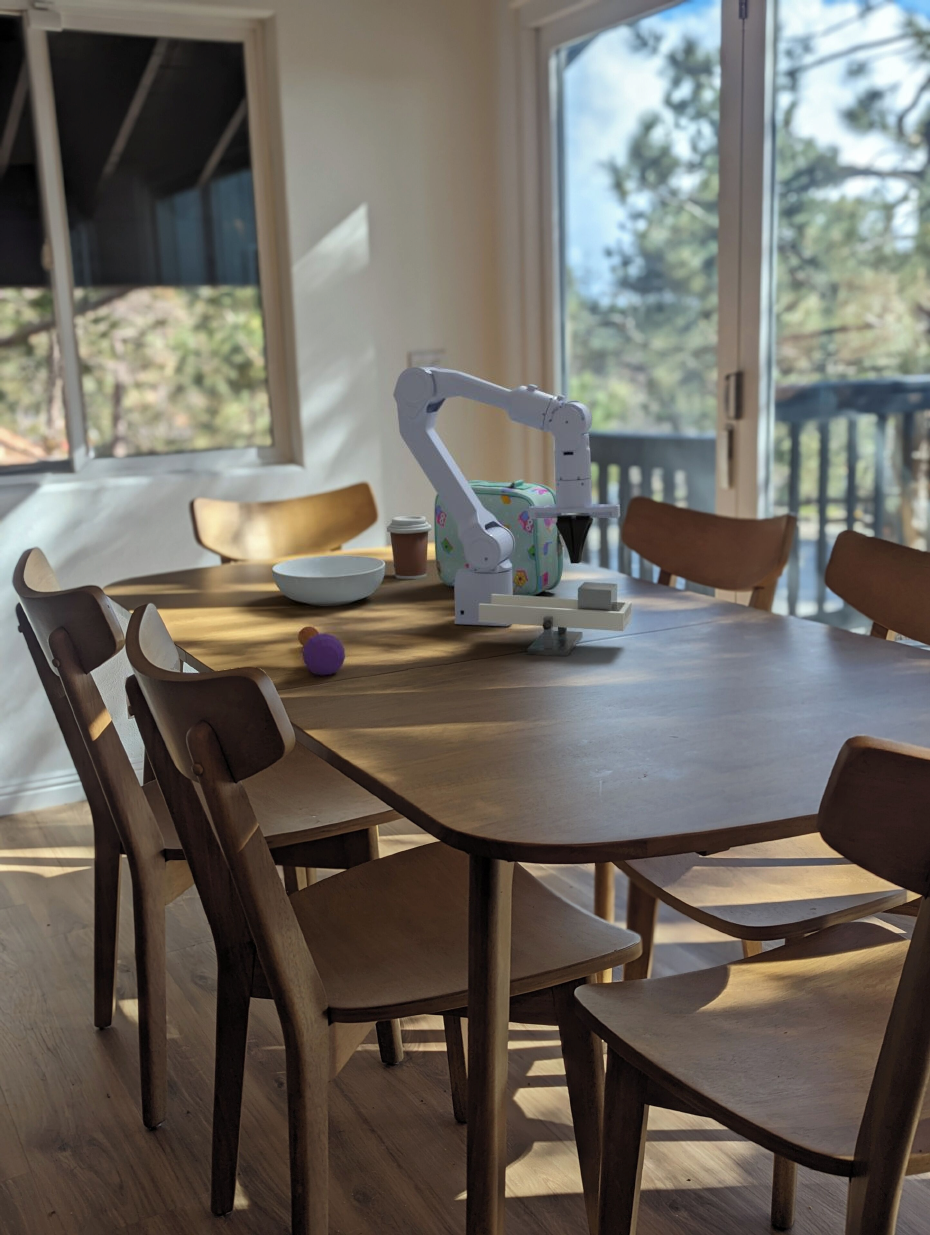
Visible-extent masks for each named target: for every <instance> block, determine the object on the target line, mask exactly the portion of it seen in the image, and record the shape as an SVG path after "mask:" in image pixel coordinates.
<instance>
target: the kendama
mask: <svg viewBox="0 0 930 1235" xmlns="http://www.w3.org/2000/svg"><path fill="white" fill-rule="evenodd" d="M297 638H298V642H299V644H300V645H301V646H303V648H302V649H303V650H302V662H303V663H304V665H305V667H306V668H307V670H309V671H310V672H311V673H313V674H314V675H317V676H321V677H323V676H331V675H333V674H335V673H336V672H338V670H340V669H341V667H342V666H343V665H344V662H345V659H346V651H345V648H344V646H343V643H342V641H340V640H339V639H338V638H337V637H336V636H334V635H333V634H329V633H319V631H318V630H317V629H316V628H315V627H314V626H304V627H302V628H301V629H300V630H299V632H298V635H297Z"/></svg>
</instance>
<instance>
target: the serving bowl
mask: <svg viewBox="0 0 930 1235" xmlns="http://www.w3.org/2000/svg"><path fill="white" fill-rule="evenodd" d="M385 572H386V563H385V561H384V560H382V559H380V558H377V557H372V556H365V555H354V554H353V555H349V554H338V555H335V554H334V555H330V554H329V555H315V556H308V557H307V556H306V557H299V558H294V559H293V558H292V559H290V560H285V561H282V562H278V563H276V564H275V565H273V566H272V568H271V573H272V577H273V580H274V583H275V585H276V587H277V589H278V590H279V591H280V592H281V593H282V594H283V595H284V596H285V597H287V598H289V599H290V600H294V601H295V602H300V603H305V604H309V605H311V606H317V605H318V606H321V607H329V606H330V607H332V606H342V605H343V606H344V605H347V604H351V603H353V602H355V601H358V600H362V599H364V598H366V597H368V596H370V595H372V594H373V593H374V592H375V591H377V589H379V587H380V586H381V584H382V583H383V580H384V577H385Z"/></svg>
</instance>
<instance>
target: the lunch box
mask: <svg viewBox="0 0 930 1235" xmlns="http://www.w3.org/2000/svg"><path fill="white" fill-rule="evenodd" d="M467 482H468V484H469V485H470V487H471V488H472V490H473V491H474V493H475V495H476V496H477V498H478V499H479V501H480V502H481V504H482V506H483V507H484V508H485V509H486V510H487V511H489V512H490V513H491V514H492V515H494V516H495V518H496V519H497V521H498V522H499V523H500V524H501V525H502V526H504V527H506V528H507V529H508V530H510V532H511V533H512V534H513V536H514V539H515V549H514V552H513V554H512V555H511V556H510V557H509V560H510V563H511V564H512V587H513V595H522V596H536V595H538V594H540V593H542V592H545V591H550V590H551V591H552V590H554V589H556V588H557V587H558V586H559V584H560V582H561V579H562V575H563V569H564V550H563V547H566V545H565V542H564V540H563V538H562V536H561V534H560V532H559V530H558V528H557V526H556V522H557V518H536V519H529V507H531V506H545V505H556V491H554V490H553V489H552V488H551V487H549V486H547V485H545V484H540V483H534V482H533V483H531V482H524V479H522V478H521V479H519V480H517V481H513V482H501V481H500V482H499V481H488V480H487V481H486V480H477V479H476V480H469V481H467ZM433 511H434V513H433V514H434V517H433V519H434V522H433V523H434V524H433V525H434V531H433V532H434V554H435V555H434V557H435V567H436V571H437V575H438V577H439V579H440V580H441V581H442V583H444V584H445V585H446V586H448V587H449V586H450V587H454V585H455V577H456V573H457V571H458V570H459V569H468V568H469V563H468V562H467V560H466V558H465V555H464V547H463V544H462V542H461V541H460V539H459V537H458V526H457V523H456V521H455V520H454V518H453V517H452V515H451V514H450V512H449V510H448V509H447V507H446V506H445V504H444V503H443V501H442V499H441V498H440V496H439V495H438V493H437V492H436V495H435V499H434V509H433ZM560 515H562V514H560Z"/></svg>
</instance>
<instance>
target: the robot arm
mask: <svg viewBox="0 0 930 1235" xmlns="http://www.w3.org/2000/svg"><path fill="white" fill-rule="evenodd" d="M538 388H539V387H538V386H537V385H535V384H528V385H527V386H525V385H519V386H518V387H517V388H514V389H513V390H512V389H509V388H505V387H503V386H500V385H498V384H495V383H493V382H490V381H487V380H484V379H482V378H479V377H476V376H474V375H471V374H469V373H466V372H464V371H459V370H454V369H451V368H450V369H449V368H441V367H439V366H435V365H429V366H422V367H420V366H411V367H407V368H405V369H404V370H403V371H402V372H401V373H400V374H399V376H398V378H397V381H396V384H395V388H394V390H393V393H392V395H393V398H394V401H395V403H396V407H397V408H396V409H397V418H398V419H397V420H398V430H399V435H400V436H401V438H402V440H403V442H404V443H405V445H406V446H407V448H408V449H409V451H410V453H411V454H412V455H413V457H414V458H415V460H416V462H417V463H418V465H419V466H420V468H421V470H422V471H423V473H424V475H425V476H426V478H427V479H428V482H430V483H431V485H432V486H433V488H434V490H435V492H436V494H437V493H438V495H439V496H440V498H441V499H442V501H443V503H444V504H445V506H446V507H447V509H448V510H449V512H450V514H451V515H452V517H453V518H454V520H455V521H456V523H457V526H458V537H459V539H460V541H461V542H462V544H463V547H464V555H465V558H466V560H467V562H468V563H469V568H468V569H459V570H458V571H457V573H456V577H455V585H454V586H453V588H454V589H453V590H454V617H455V618H454V622H453V624H455V625H467V626H468V625H469V626H470V625H471V626H495V627H509V626H511V625H512V624H504V623H488V622H479V604H480V603H481V604H491V595H492V594H504V595H513V587H512V564H511V563H510V560H509V557H510V556H511V555H512V554H513V552H514V549H515V539H514V536H513V534H512V533H511V532H510V530H508V529H507V528H506V527H504V526H502V525H501V524H500V523H499V522H498V521H497V519H496V518H495V516H494V515H492V514H491V513H490V512H489V511H487V510H486V509H485V508H484V507H483V506H482V504H481V502H480V501H479V499H478V498H477V496H476V495H475V493H474V491H473V490H472V488H471V487H470V485H469V484H468V482H469V481H468V480H467V479H466V478H465V476H464V474H463V473H462V471H461V470H460V468H459V466H458V465H457V463H456V462H455V460H454V458H453V457H452V456H451V453H450V452H449V450H448V449H447V447H446V446H445V444H444V443H443V440H442V439H441V438H440V437H439V436H440V435H438V433H437V432H436V430H435V425H436V422H437V421H436V420H437V418H438V413H439V410H440V409H441V408H442V406H443V405H444V403H445V401H446V400H447V399H449V398H457V397H462V398H466V399H469V400H473V401H475V402H479V403H482V404H486V405H488V406H493V407H495V408H496V407H497V408H500V409H502V410H505V412H506V414H507V416H508V418H509V419H510V420H511V421H512V422H513V421H514V422H516V423H519V424H521V425H524V426H528V427H531V428H533V429H536V430H540V431H543V432H545V433H549V432H550V433H551V435H552V436H553V439H554V442H553V443H554V451H553V455H554V457H553V458H554V460H553V461H554V480H555V481H554V484H555V485H554V486H555V494H556V505H545V506H531V507H529V519H536V518H557V522H556V526H557V528H558V530H559V532H560V534H561V536H562V538H563V540H564V542H565V545H566V546H565V547H566V550H567V553H568V556H569V557H568V558H569V561H570V564H574V565H575V564H580V563H582V560H583V559H582V558H583V550H584V546H585V542H586V539H587V537H588V534H589V531H590V529H591V526H592V524H593V521H594V519H597V518H601V519H602V518H603V519H604V518H606V519H608V518H611V519H619V518H620V517H621V505H620V504H606V503H605V504H603V503H602V504H600V503H592V502H593V500H592V467H591V466H592V465H591V464H592V463H591V448H590V434H589V431H590V429H591V428H592V423H593V415H592V413H591V410H590V409H589V407H588V406H586V405H585V404H583V403H582V402H581V401H579V400H577V399H576V400H575V399H574V400H569V401H566V396H565V395H562V394H559V395H557V396H555V395H552V394H549V393H547V392H544V391H540V390H538ZM560 514H561V515H560Z"/></svg>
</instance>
